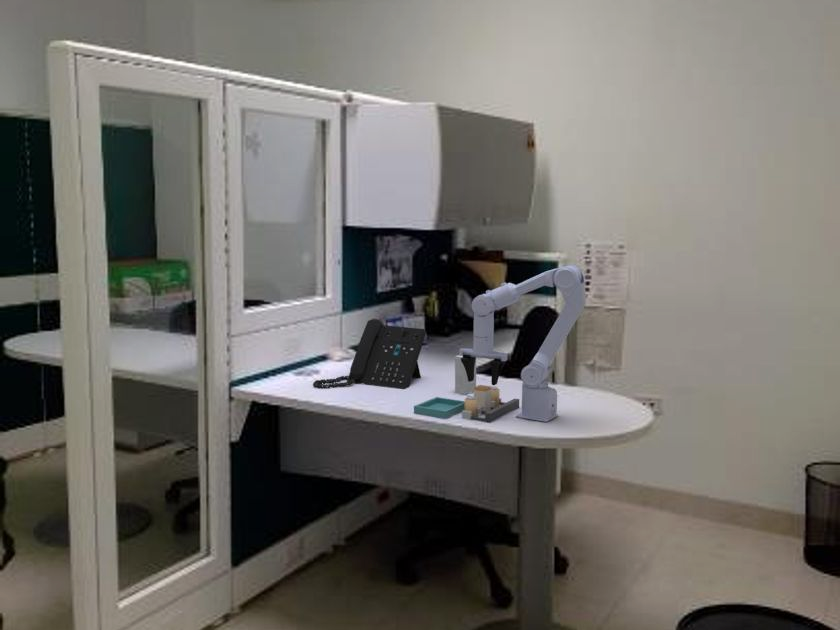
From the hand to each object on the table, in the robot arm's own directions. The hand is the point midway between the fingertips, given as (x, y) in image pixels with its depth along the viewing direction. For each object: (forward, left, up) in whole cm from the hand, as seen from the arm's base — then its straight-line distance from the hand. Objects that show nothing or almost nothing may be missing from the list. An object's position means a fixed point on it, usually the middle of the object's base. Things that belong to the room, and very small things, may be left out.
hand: (482, 382), depth 229 cm
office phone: (+48, -11, -9) cm, 50 cm away
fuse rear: (0, -7, -8) cm, 11 cm away
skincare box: (+15, -17, -9) cm, 24 cm away
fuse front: (0, +7, -8) cm, 11 cm away
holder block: (-3, 0, -8) cm, 9 cm away
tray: (+10, +6, -8) cm, 15 cm away
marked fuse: (0, 0, -8) cm, 8 cm away
